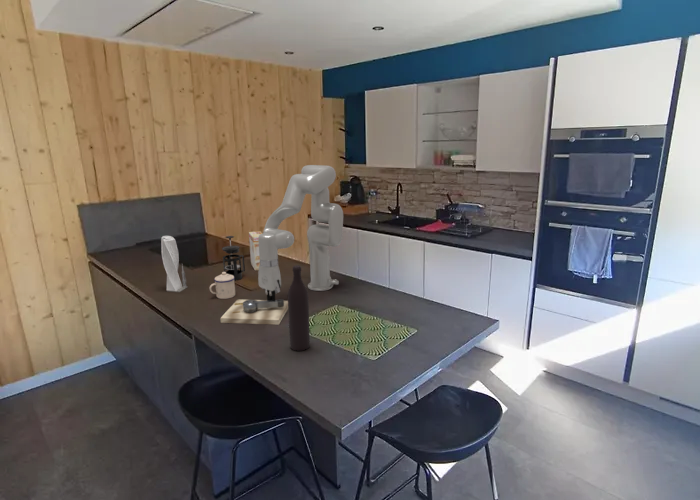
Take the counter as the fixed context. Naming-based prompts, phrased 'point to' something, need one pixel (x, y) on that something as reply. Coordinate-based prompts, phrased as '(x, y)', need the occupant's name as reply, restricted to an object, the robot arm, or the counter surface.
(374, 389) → the counter surface
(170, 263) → the skyscraper
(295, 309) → the wine bottle
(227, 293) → the teacup with lid
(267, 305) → the lever
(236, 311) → the wooden cutting board
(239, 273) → the french press
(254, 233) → the coffeecake box
